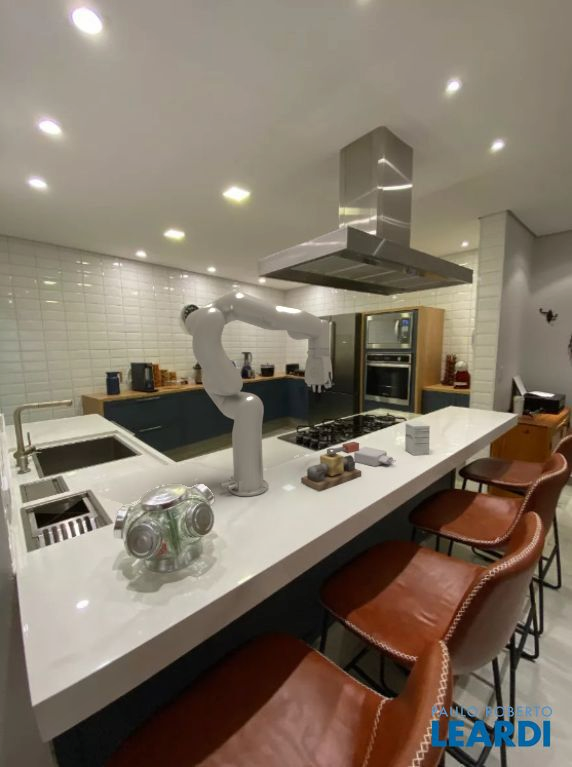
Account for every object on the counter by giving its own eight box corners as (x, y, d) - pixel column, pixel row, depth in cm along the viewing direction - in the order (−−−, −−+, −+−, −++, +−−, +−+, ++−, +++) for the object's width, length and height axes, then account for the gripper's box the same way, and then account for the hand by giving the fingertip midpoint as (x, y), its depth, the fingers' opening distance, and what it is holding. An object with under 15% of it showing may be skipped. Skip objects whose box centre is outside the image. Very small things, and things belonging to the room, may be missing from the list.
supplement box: (404, 450, 144) (404, 422, 142) (420, 449, 144) (421, 421, 143) (413, 455, 136) (413, 426, 135) (429, 454, 137) (430, 425, 136)
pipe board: (319, 491, 103) (318, 462, 102) (301, 483, 110) (300, 456, 110) (361, 476, 115) (361, 450, 114) (342, 469, 122) (342, 445, 122)
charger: (389, 471, 120) (354, 462, 131) (400, 464, 127) (366, 457, 137) (389, 458, 120) (354, 450, 130) (400, 452, 126) (366, 446, 137)
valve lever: (331, 458, 110) (331, 450, 110) (325, 455, 113) (324, 448, 112) (359, 450, 117) (359, 443, 117) (353, 448, 120) (353, 441, 120)
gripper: (297, 354, 124) (297, 402, 125) (328, 353, 113) (328, 405, 115) (310, 354, 129) (310, 400, 130) (341, 353, 118) (341, 403, 120)
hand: (318, 402), depth 122 cm, fingers closed
